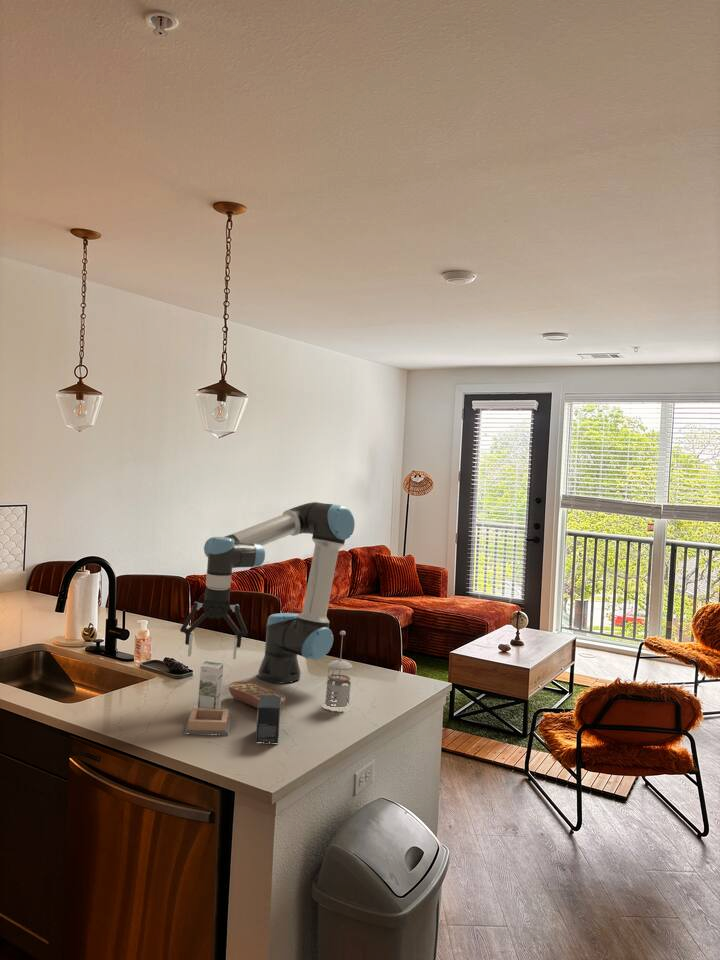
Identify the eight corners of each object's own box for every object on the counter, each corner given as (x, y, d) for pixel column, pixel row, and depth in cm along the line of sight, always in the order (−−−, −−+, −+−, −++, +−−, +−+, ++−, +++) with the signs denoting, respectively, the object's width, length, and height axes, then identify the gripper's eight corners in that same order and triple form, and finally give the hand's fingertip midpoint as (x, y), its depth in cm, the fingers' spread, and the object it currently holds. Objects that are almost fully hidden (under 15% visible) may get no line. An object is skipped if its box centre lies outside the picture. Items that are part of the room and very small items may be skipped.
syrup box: (220, 708, 225) (224, 662, 224) (214, 714, 219) (218, 667, 219) (202, 706, 225) (206, 660, 225) (196, 712, 219) (200, 665, 219)
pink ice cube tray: (222, 699, 234) (223, 684, 234) (246, 693, 241) (248, 679, 241) (267, 720, 218) (268, 704, 218) (292, 714, 225) (293, 698, 225)
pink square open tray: (230, 720, 215) (231, 708, 215) (228, 735, 203) (228, 723, 203) (189, 719, 213) (190, 707, 213) (184, 734, 202) (185, 721, 202)
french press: (329, 713, 228) (335, 635, 227) (314, 701, 238) (320, 626, 237) (357, 711, 232) (363, 633, 232) (341, 699, 242) (347, 625, 242)
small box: (256, 729, 209) (259, 693, 209) (279, 730, 210) (282, 695, 210) (254, 744, 199) (257, 706, 199) (278, 745, 199) (281, 707, 199)
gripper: (259, 588, 227) (253, 655, 227) (178, 583, 223) (172, 651, 224) (258, 592, 219) (252, 662, 219) (174, 587, 216) (168, 657, 216)
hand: (212, 656), depth 221 cm, fingers open, 13 cm apart
